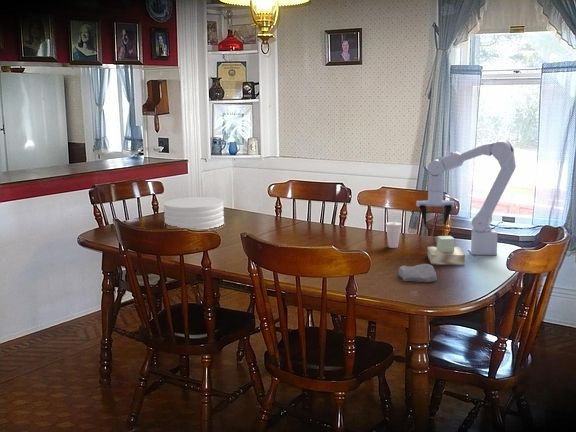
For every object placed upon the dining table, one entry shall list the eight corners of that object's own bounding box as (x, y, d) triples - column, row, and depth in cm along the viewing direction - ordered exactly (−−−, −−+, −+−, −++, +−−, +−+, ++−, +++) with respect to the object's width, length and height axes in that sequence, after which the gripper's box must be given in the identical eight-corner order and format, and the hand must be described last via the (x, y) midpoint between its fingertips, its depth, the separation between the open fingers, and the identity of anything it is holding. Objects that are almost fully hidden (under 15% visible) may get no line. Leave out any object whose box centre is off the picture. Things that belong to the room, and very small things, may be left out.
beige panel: (459, 257, 248) (459, 246, 248) (464, 265, 237) (464, 255, 236) (427, 256, 250) (427, 246, 249) (431, 265, 238) (431, 254, 237)
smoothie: (389, 249, 259) (389, 215, 257) (382, 245, 265) (383, 212, 263) (403, 248, 261) (404, 213, 258) (397, 244, 267) (397, 210, 264)
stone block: (438, 287, 218) (430, 272, 227) (439, 274, 216) (431, 260, 225) (403, 289, 217) (397, 275, 226) (404, 276, 215) (397, 262, 225)
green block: (450, 248, 245) (450, 235, 244) (454, 252, 240) (454, 238, 239) (437, 249, 245) (437, 236, 244) (440, 252, 240) (441, 239, 239)
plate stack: (171, 219, 324) (170, 197, 322) (227, 219, 323) (227, 196, 320) (158, 232, 297) (157, 207, 294) (219, 232, 295) (218, 207, 293)
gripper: (452, 188, 258) (451, 222, 261) (415, 188, 260) (415, 221, 262) (455, 191, 251) (454, 225, 254) (417, 191, 253) (416, 225, 255)
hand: (434, 224), depth 258 cm, fingers open, 7 cm apart
